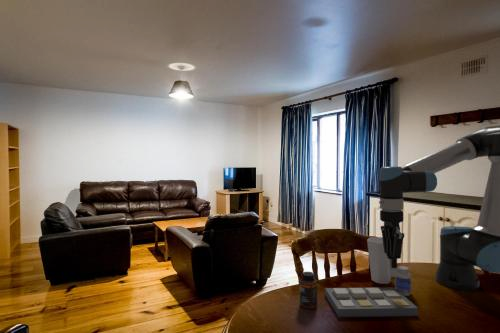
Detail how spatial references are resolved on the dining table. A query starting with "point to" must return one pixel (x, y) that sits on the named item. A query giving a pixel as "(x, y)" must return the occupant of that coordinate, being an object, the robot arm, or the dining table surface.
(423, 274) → the dining table surface
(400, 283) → the pill bottle
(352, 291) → the button
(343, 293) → the button
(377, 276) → the cup
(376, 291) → the button
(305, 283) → the supplement bottle
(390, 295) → the button
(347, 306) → the board
